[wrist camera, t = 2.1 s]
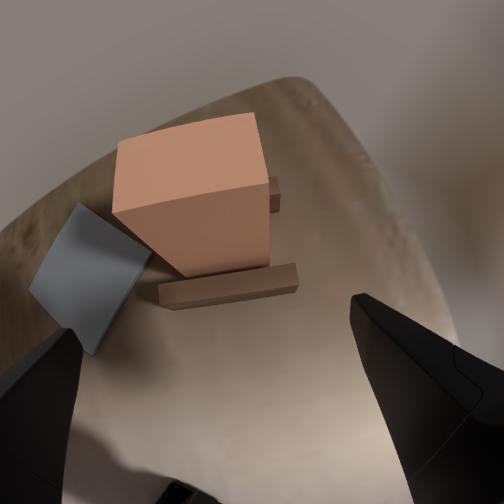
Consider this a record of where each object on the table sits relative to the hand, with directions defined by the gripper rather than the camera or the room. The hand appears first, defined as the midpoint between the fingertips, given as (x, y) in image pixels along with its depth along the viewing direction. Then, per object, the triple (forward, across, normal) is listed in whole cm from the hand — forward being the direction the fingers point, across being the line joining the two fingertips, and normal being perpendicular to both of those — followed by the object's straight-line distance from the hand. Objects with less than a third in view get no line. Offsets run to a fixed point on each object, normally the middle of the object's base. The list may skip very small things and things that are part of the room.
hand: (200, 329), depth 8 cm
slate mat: (+13, +13, +4) cm, 19 cm away
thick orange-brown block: (+13, 0, +4) cm, 14 cm away
